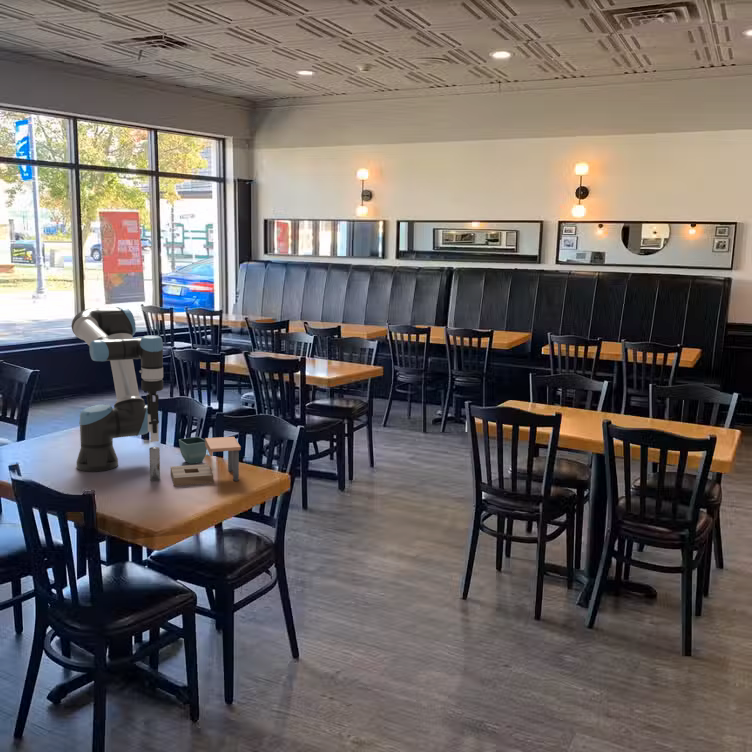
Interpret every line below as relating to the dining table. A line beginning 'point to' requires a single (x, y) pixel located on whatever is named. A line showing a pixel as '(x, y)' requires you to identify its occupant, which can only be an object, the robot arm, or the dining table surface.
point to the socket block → (191, 474)
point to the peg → (154, 463)
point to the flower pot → (193, 449)
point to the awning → (226, 445)
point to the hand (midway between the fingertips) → (153, 436)
